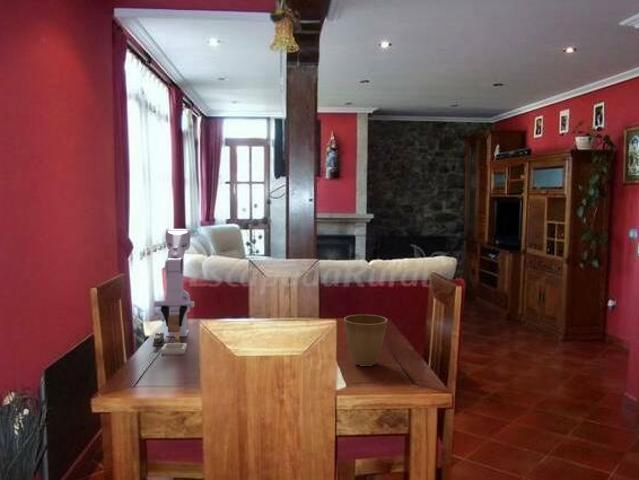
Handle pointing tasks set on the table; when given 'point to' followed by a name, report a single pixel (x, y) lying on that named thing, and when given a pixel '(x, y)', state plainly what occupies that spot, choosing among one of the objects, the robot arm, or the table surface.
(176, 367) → the table surface
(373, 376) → the table surface
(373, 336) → the plant pot
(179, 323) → the robot arm
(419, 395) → the table surface
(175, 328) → the block
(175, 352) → the tray
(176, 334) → the crank base
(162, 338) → the crank
